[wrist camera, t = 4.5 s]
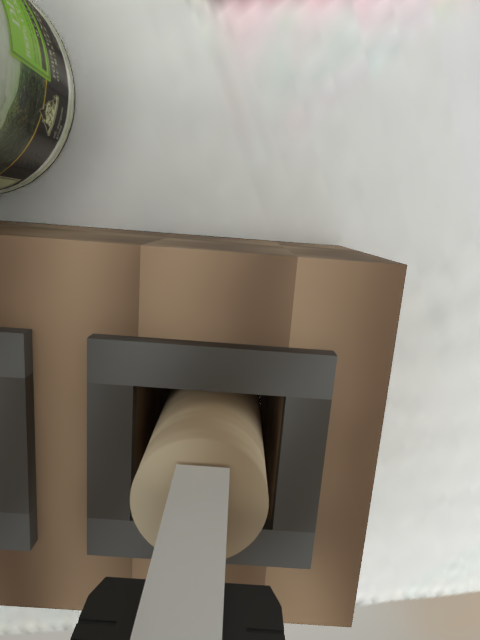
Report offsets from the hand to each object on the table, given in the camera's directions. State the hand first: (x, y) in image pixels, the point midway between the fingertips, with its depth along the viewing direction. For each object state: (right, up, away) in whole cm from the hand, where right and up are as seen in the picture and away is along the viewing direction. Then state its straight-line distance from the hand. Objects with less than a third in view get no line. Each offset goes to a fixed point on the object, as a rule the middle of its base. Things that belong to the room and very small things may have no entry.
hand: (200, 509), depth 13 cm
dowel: (0, +2, +9) cm, 9 cm away
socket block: (-5, +3, +13) cm, 14 cm away
